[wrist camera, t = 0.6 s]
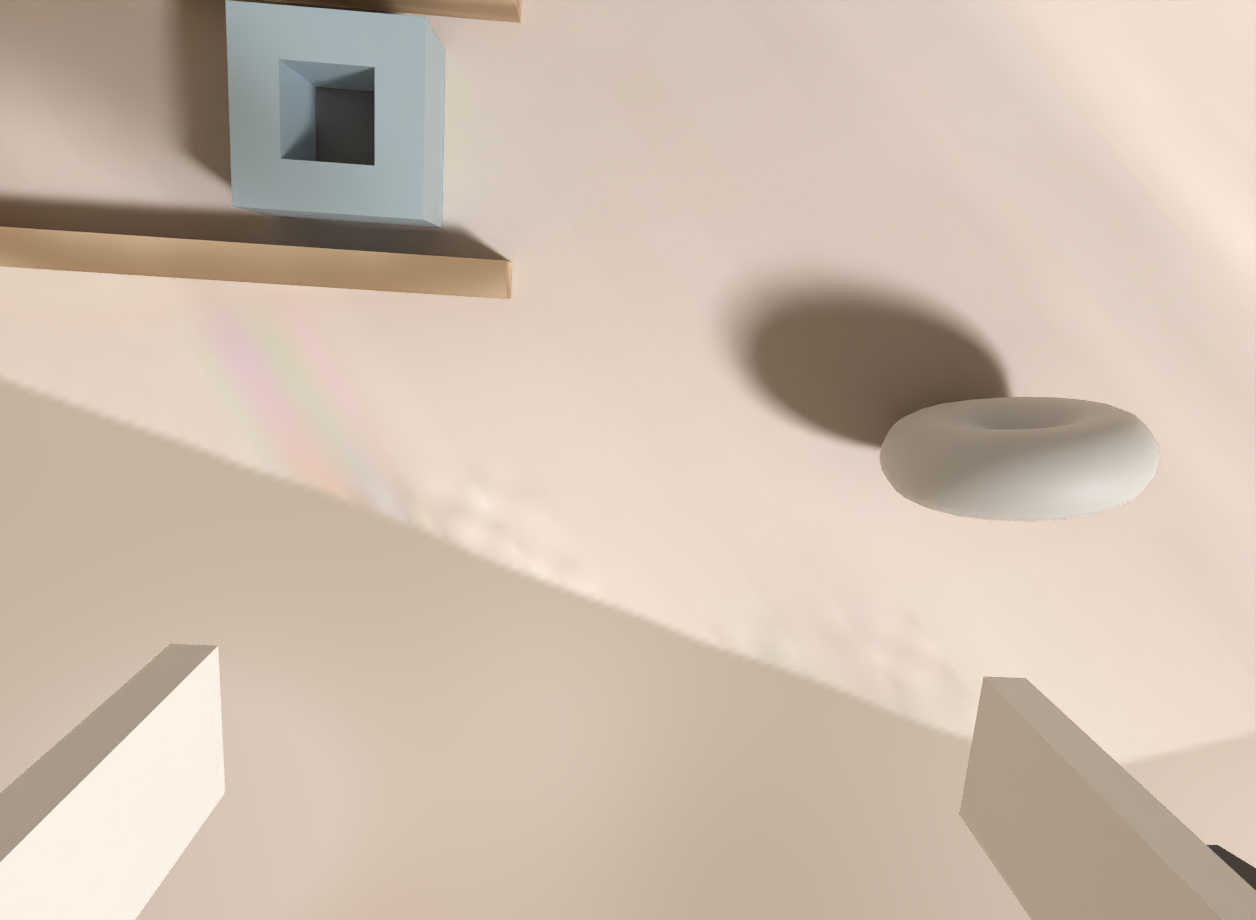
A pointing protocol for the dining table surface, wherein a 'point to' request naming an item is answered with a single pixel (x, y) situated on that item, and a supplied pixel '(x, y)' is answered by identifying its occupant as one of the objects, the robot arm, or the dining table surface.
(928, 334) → the dining table surface
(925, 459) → the donut
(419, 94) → the block
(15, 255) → the track
